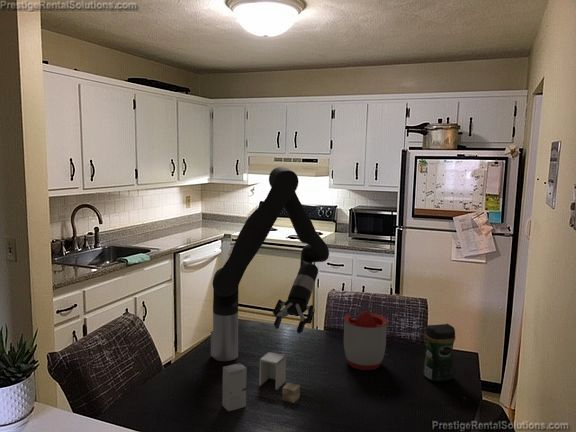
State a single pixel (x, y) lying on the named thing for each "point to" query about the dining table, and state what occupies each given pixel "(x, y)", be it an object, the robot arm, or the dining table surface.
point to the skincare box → (234, 387)
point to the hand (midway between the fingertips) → (287, 330)
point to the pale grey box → (273, 368)
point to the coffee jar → (439, 352)
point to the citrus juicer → (365, 340)
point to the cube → (291, 392)
